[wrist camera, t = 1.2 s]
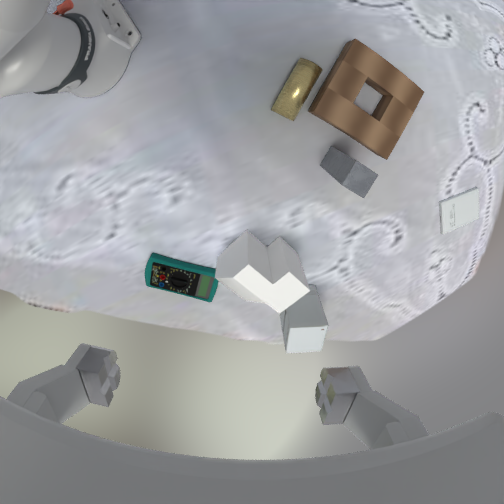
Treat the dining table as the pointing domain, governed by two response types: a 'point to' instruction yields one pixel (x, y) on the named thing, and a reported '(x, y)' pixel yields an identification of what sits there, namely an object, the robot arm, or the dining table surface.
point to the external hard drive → (459, 210)
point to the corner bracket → (262, 272)
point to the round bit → (297, 89)
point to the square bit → (348, 171)
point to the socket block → (347, 88)
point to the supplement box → (304, 324)
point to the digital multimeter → (181, 277)
